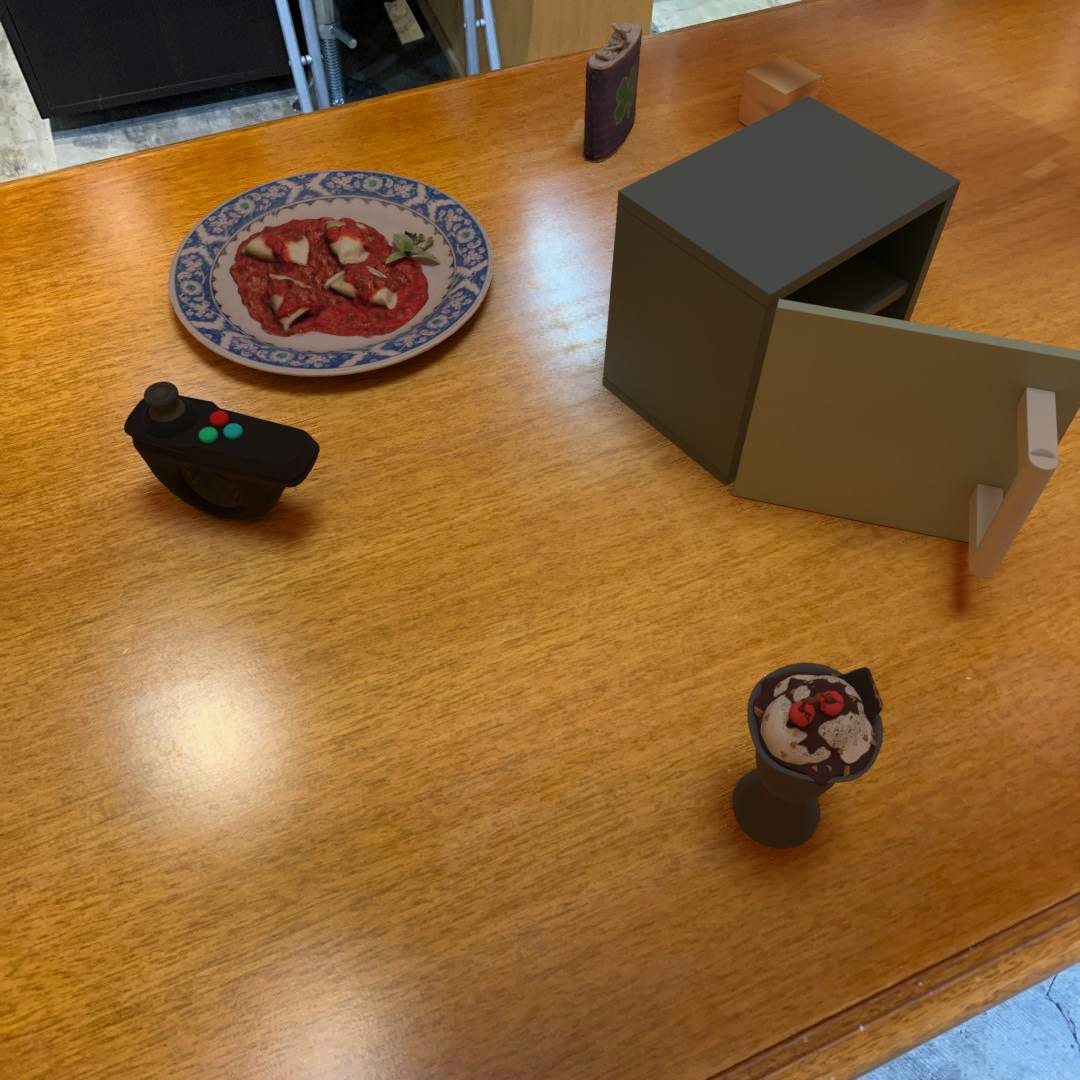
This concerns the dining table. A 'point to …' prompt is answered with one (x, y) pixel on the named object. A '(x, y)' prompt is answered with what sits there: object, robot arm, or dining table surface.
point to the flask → (611, 92)
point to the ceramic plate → (330, 273)
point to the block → (775, 88)
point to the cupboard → (758, 263)
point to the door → (907, 425)
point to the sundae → (805, 747)
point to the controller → (218, 453)
